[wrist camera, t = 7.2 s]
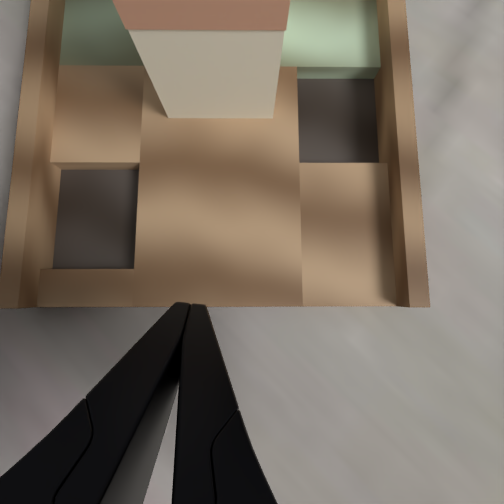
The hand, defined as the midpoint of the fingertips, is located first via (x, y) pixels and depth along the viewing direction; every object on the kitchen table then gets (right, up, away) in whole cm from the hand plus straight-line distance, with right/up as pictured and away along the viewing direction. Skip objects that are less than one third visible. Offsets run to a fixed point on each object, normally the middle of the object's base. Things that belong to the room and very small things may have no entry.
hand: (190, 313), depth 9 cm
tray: (0, +12, +10) cm, 15 cm away
